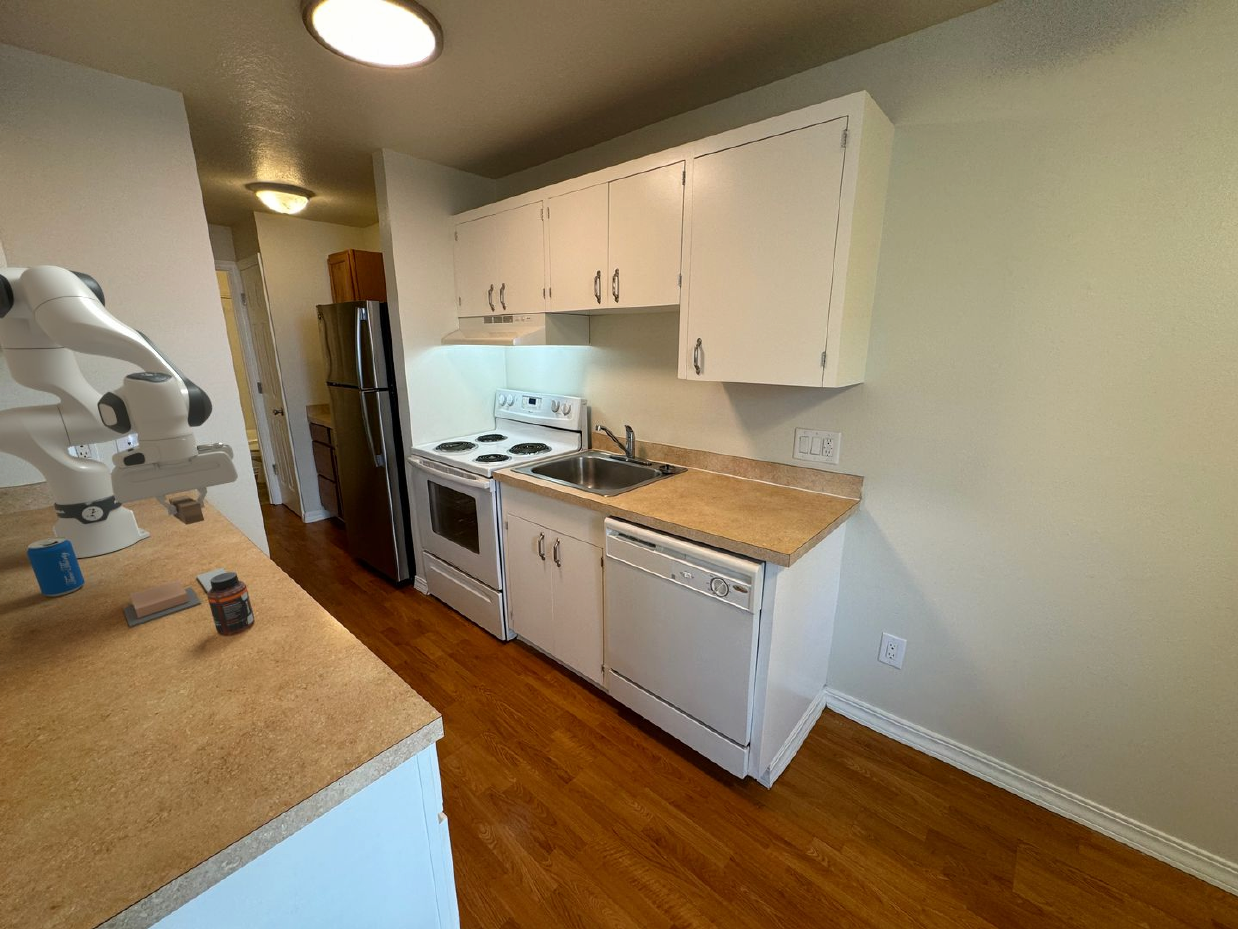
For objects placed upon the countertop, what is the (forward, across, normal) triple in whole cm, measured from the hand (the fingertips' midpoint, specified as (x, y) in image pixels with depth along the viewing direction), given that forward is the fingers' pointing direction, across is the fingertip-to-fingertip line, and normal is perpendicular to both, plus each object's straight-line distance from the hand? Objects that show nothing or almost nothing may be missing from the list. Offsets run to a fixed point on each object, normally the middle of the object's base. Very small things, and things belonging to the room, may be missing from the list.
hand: (186, 510), depth 107 cm
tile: (+17, +8, -2) cm, 19 cm away
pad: (+18, -2, 0) cm, 18 cm away
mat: (+18, +8, +4) cm, 21 cm away
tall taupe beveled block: (+2, 0, 0) cm, 2 cm away
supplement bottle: (+19, 0, +26) cm, 32 cm away
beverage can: (+18, +22, -22) cm, 35 cm away
